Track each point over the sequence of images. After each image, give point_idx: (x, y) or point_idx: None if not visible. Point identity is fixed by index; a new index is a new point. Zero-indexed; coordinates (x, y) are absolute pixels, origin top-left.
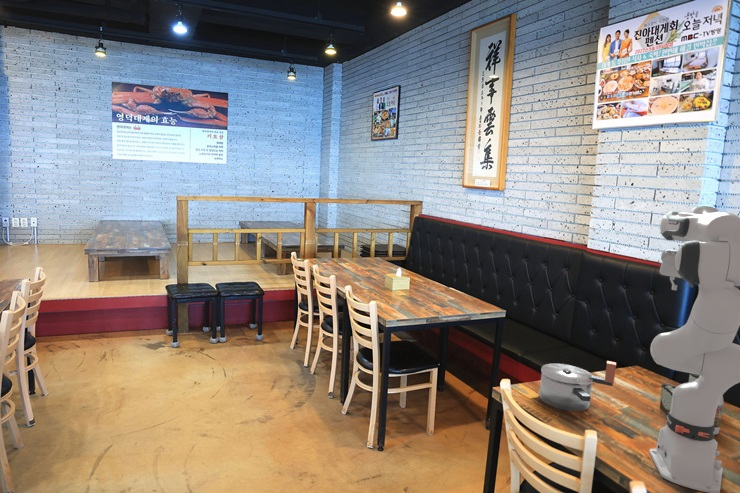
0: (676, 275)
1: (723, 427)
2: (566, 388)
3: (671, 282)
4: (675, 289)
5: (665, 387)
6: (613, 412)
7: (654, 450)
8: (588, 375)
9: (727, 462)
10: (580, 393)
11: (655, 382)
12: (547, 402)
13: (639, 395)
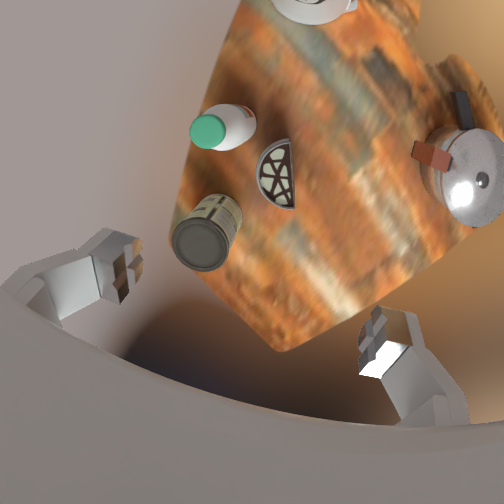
0: (455, 442)
1: (202, 150)
2: None
3: (442, 368)
4: (388, 309)
5: (291, 193)
6: (386, 138)
7: (351, 4)
8: (451, 174)
9: (240, 19)
10: (468, 102)
11: (265, 305)
12: None
13: (314, 237)
